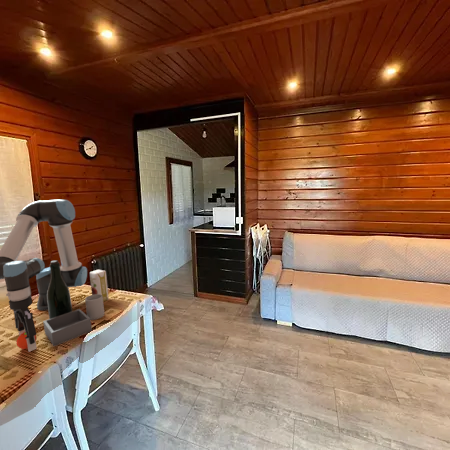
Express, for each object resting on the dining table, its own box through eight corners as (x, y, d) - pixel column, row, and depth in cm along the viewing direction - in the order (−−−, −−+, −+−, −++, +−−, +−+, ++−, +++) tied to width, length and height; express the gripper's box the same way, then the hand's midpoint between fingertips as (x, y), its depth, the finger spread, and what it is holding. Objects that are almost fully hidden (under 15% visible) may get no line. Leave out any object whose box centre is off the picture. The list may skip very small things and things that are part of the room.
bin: (45, 333, 122) (43, 321, 122) (81, 320, 134) (79, 308, 133) (53, 346, 111) (51, 332, 111) (91, 331, 123) (90, 318, 122)
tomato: (43, 343, 113) (41, 328, 112) (29, 353, 106) (27, 337, 105) (28, 342, 114) (25, 327, 113) (13, 352, 107) (10, 336, 106)
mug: (102, 318, 135) (100, 299, 133) (85, 321, 133) (82, 301, 131) (107, 308, 146) (105, 290, 145) (91, 311, 144) (88, 292, 143)
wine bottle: (46, 327, 128) (37, 265, 123) (54, 316, 138) (47, 259, 133) (69, 324, 131) (62, 263, 125) (75, 314, 141) (69, 257, 135)
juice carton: (102, 296, 164) (99, 268, 161) (110, 299, 159) (107, 270, 157) (91, 301, 157) (87, 272, 155) (99, 304, 153) (96, 274, 150)
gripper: (0, 296, 109) (9, 344, 112) (18, 306, 98) (28, 359, 101) (21, 289, 115) (29, 335, 119) (40, 299, 104) (48, 349, 108)
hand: (28, 346), depth 110 cm, fingers closed on tomato, 7 cm apart
